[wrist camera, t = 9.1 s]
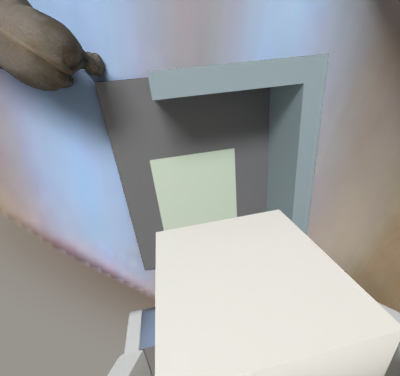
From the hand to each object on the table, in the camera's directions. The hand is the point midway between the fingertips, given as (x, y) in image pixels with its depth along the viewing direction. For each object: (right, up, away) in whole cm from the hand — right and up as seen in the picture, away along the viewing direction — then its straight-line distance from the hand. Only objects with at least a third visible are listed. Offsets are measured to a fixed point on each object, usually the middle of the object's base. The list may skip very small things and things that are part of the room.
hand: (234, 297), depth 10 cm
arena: (-1, +6, +11) cm, 12 cm away
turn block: (0, +1, +2) cm, 2 cm away
